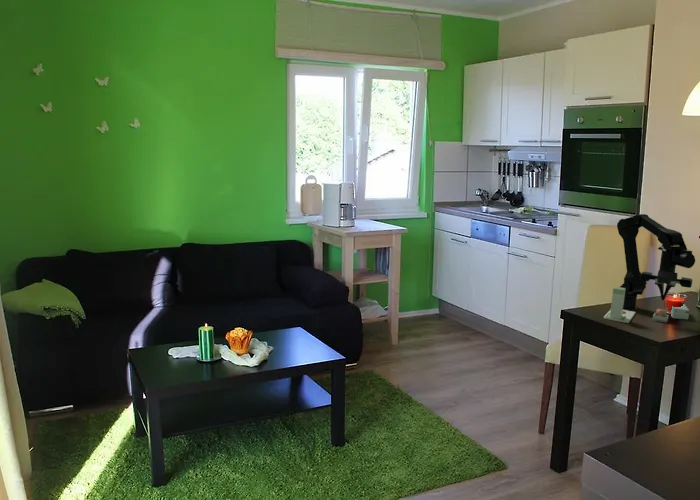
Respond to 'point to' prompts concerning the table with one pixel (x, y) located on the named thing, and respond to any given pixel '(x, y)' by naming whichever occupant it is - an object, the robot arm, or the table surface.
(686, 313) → the skincare box
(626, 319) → the picture board
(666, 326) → the table surface
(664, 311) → the button
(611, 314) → the pale green tall box
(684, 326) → the table surface
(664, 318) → the button housing
